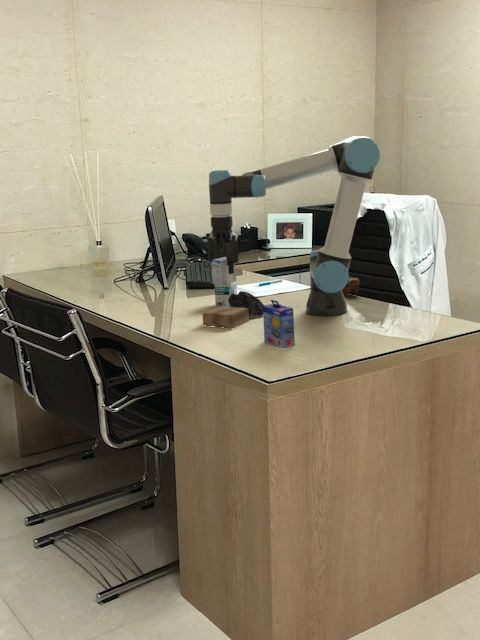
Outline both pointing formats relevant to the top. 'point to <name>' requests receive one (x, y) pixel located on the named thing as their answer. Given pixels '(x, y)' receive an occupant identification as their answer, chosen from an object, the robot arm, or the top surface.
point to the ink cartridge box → (278, 325)
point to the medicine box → (220, 271)
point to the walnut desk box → (226, 317)
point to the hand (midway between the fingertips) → (224, 282)
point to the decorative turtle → (351, 286)
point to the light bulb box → (224, 293)
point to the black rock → (247, 303)
